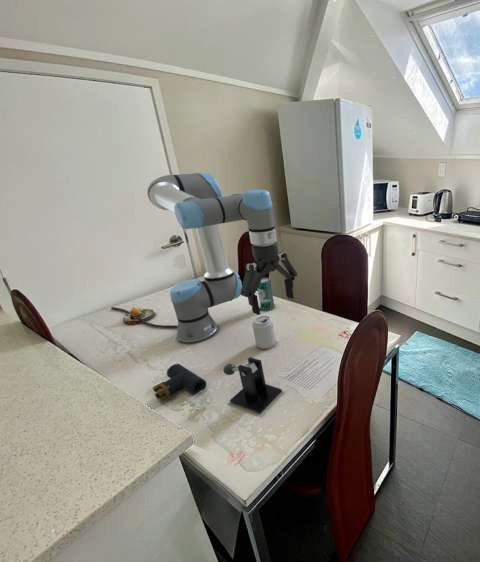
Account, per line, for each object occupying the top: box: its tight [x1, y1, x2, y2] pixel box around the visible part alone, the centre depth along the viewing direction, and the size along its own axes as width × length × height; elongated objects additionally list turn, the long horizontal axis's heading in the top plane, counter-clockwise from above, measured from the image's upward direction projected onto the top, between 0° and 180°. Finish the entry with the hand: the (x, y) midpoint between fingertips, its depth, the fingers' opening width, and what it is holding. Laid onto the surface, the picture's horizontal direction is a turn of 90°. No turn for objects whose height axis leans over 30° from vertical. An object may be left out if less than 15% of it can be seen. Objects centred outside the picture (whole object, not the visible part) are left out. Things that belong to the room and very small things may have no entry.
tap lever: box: [223, 362, 257, 376], centre depth 97 cm, size 13×4×4 cm, turn 66°
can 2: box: [252, 315, 277, 350], centre depth 124 cm, size 8×8×12 cm
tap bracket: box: [229, 356, 283, 415], centre depth 97 cm, size 12×10×14 cm
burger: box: [122, 306, 155, 325], centre depth 146 cm, size 12×12×8 cm
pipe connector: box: [152, 363, 207, 403], centre depth 102 cm, size 12×5×15 cm
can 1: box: [257, 277, 275, 312], centre depth 152 cm, size 6×6×15 cm
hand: (274, 305), depth 103 cm, fingers open, 13 cm apart
